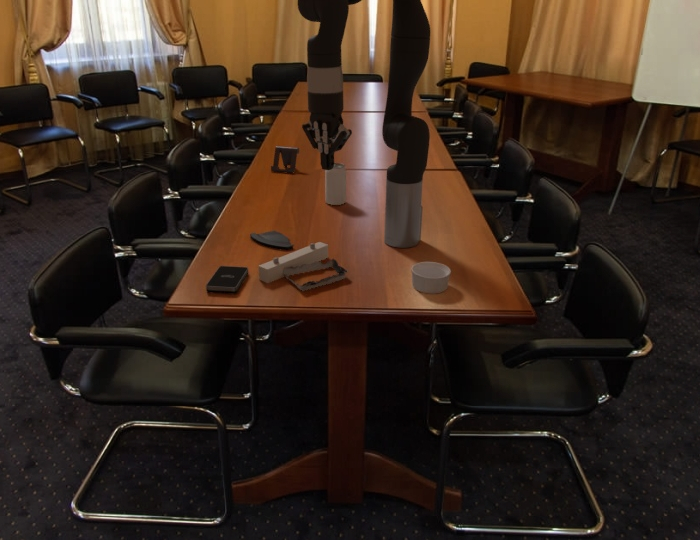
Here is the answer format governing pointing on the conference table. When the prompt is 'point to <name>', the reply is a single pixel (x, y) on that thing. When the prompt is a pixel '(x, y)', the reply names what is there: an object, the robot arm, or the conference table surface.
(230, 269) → the external hard drive
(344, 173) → the can
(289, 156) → the portable electronic device stand
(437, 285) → the ramekin
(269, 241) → the fan shaped piece
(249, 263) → the conference table surface
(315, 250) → the grey toothed bar
